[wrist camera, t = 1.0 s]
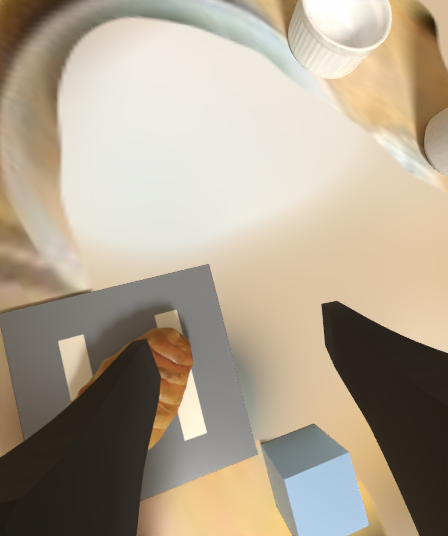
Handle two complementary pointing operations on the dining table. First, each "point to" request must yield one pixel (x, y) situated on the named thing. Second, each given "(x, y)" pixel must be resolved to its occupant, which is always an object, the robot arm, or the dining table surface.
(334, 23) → the ramekin
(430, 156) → the can
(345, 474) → the blue cube
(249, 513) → the dining table surface
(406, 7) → the dining table surface
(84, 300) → the board
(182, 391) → the pastry
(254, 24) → the dining table surface
